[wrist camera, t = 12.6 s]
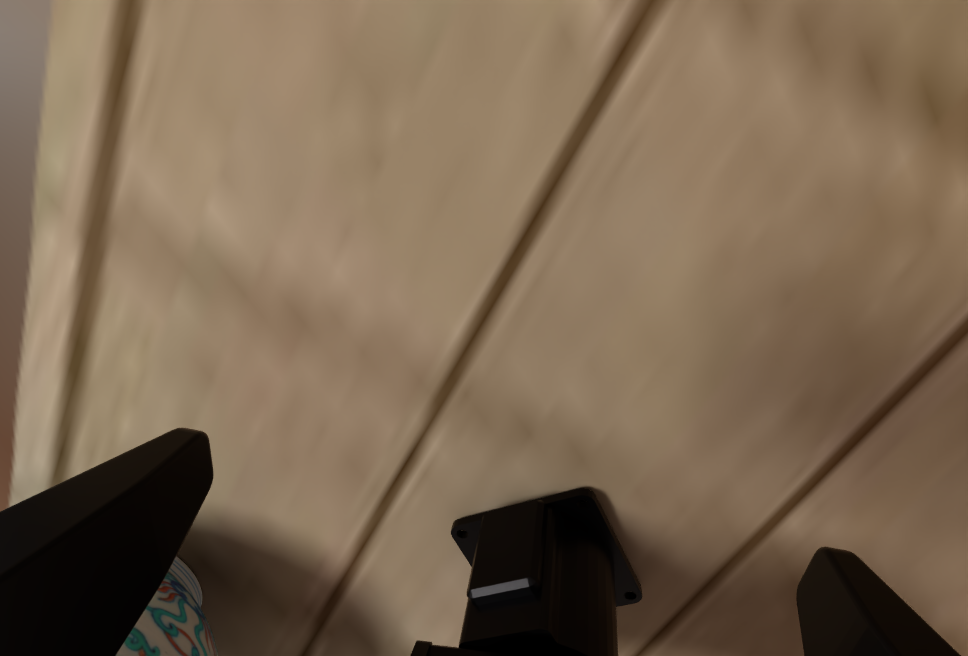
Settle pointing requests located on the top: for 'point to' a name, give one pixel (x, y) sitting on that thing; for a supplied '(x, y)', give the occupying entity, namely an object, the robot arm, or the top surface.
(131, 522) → the robot arm
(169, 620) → the chinaware
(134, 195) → the top surface
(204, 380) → the top surface
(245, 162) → the top surface
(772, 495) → the top surface
